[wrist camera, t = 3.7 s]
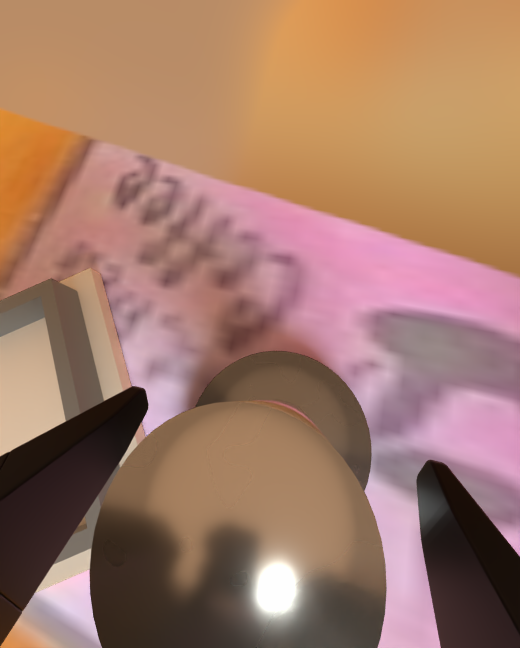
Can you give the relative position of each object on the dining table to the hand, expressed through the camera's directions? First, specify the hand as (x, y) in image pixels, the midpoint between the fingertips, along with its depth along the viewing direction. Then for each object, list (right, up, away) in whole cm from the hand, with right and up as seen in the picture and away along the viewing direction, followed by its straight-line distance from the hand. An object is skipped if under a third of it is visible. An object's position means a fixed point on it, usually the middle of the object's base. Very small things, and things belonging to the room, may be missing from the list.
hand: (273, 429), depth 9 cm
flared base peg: (+1, -3, +6) cm, 7 cm away
